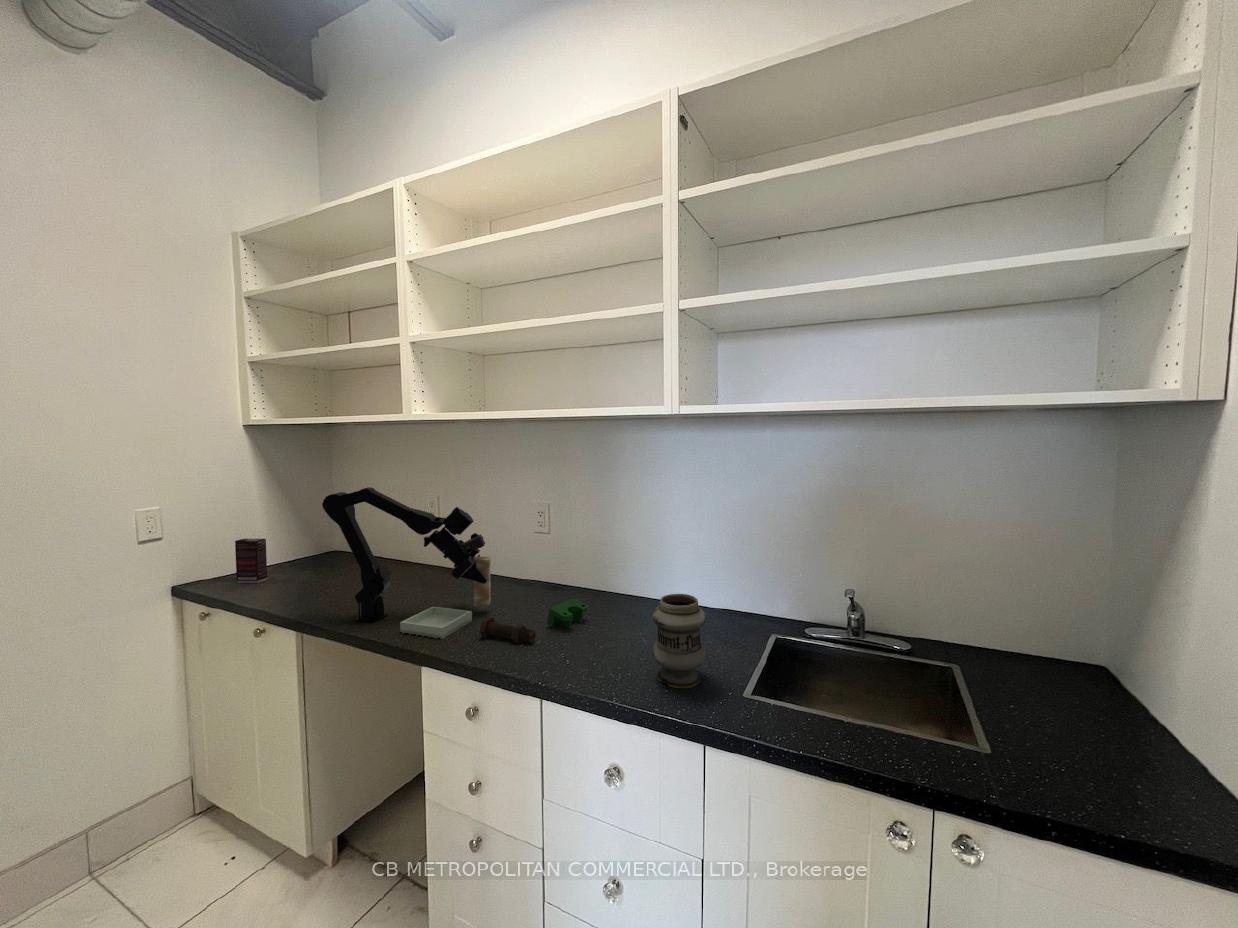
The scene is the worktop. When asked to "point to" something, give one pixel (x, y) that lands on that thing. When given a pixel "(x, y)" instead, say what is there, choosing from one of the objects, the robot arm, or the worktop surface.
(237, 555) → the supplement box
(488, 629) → the bolt
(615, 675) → the worktop surface
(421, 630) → the tray
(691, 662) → the apothecary jar
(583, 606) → the clamp
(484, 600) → the maple block
